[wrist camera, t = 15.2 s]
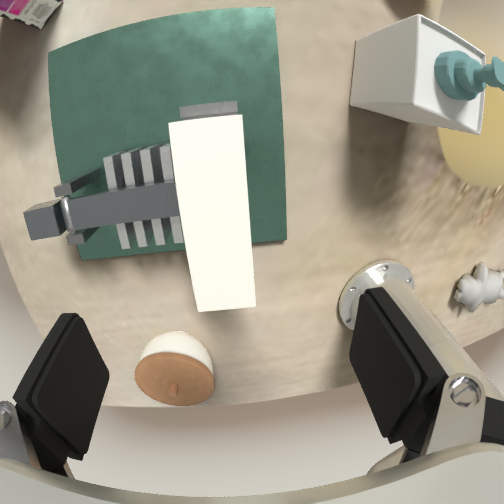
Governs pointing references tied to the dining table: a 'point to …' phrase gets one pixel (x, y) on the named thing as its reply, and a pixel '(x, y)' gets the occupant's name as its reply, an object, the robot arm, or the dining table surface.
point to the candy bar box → (29, 11)
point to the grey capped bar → (102, 209)
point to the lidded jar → (175, 369)
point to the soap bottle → (423, 75)
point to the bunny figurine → (480, 287)
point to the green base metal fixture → (166, 116)
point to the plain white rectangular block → (214, 210)
